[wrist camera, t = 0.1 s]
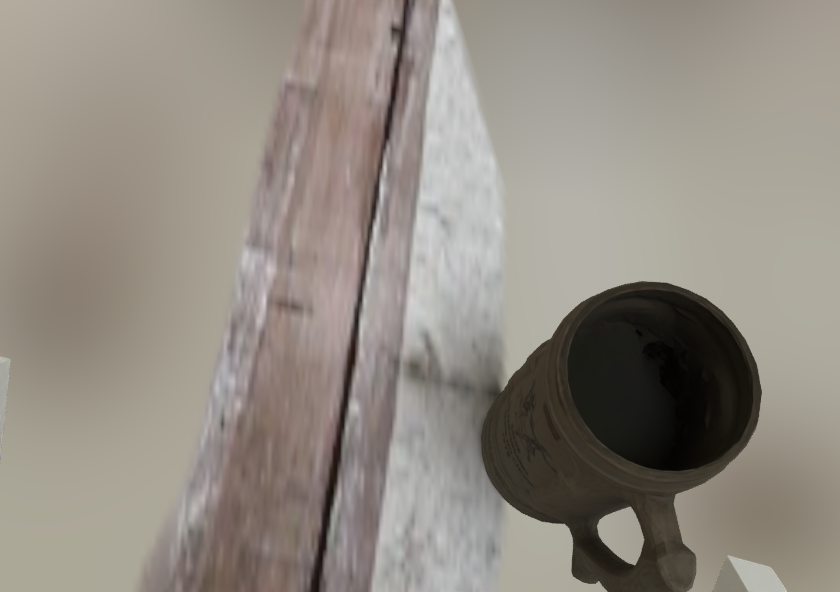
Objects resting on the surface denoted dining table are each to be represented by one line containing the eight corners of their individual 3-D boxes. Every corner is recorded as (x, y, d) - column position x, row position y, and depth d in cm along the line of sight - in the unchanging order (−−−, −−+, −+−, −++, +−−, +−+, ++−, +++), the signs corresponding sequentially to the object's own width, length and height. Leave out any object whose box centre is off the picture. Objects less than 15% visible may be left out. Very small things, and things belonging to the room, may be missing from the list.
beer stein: (462, 380, 50) (520, 295, 31) (598, 352, 52) (732, 255, 33) (515, 600, 46) (620, 657, 27) (662, 563, 47) (859, 592, 28)
